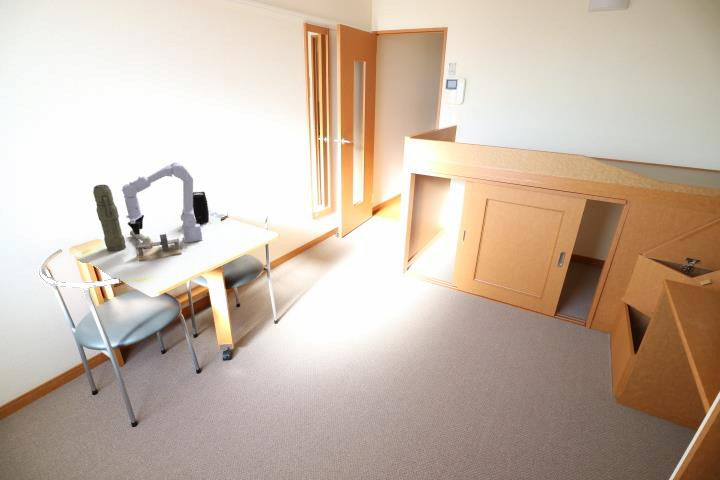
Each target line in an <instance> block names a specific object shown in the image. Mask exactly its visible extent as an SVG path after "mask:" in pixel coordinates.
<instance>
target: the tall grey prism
mask: <svg viewBox="0 0 720 480" xmlns="http://www.w3.org/2000/svg"><path fill="white" fill-rule="evenodd" d="M159 238H160V239H159V240H160V242H161V244H162V245H161V247H162V249H163V252H165V251H169V247H168V246H169V244H168V241H167V240H168V237H167V234H166V233H164V234H159Z"/></svg>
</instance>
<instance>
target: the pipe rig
mask: <svg viewBox="0 0 720 480" xmlns="http://www.w3.org/2000/svg"><path fill="white" fill-rule="evenodd" d="M167 241H168V247H169V251H165V252H163V249H162V244H161V241H153V243H148V244H142V243H141V244H135V248H136V250H137V259H138V262H144V261H148V260H149V261H150V260H156V259H161V257H162V258H167V256H168V257H172V255H173V256H178V255H177V254H179V255H182V254H183V253H182V248H181V245H180V240H179V238H176V239H175V238H174V239H167ZM147 247H152V248H148V249H146V248H147ZM144 248H145V249H144Z"/></svg>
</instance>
